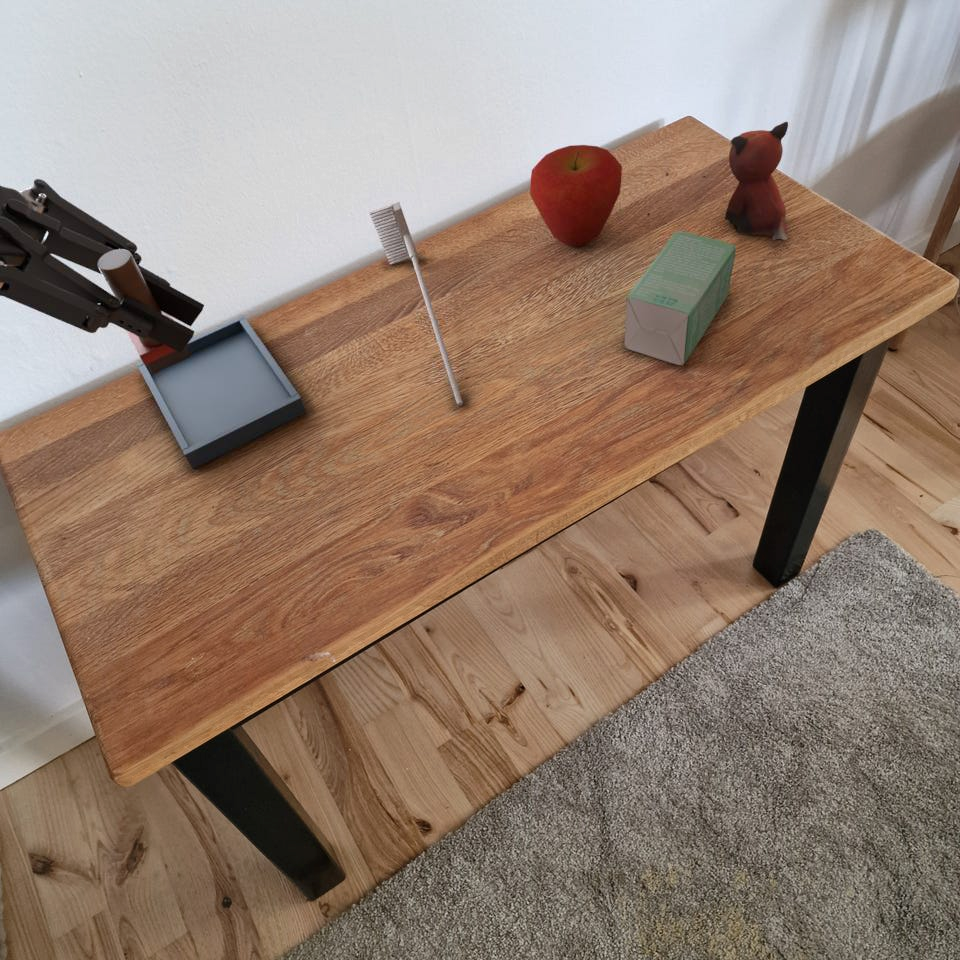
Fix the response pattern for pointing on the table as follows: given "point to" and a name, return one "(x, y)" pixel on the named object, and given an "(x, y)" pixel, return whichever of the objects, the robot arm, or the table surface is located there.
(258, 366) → the tray
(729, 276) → the box
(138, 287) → the brown cylinder on base
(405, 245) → the brush
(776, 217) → the stuffed fox
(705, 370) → the table surface
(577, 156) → the apple
